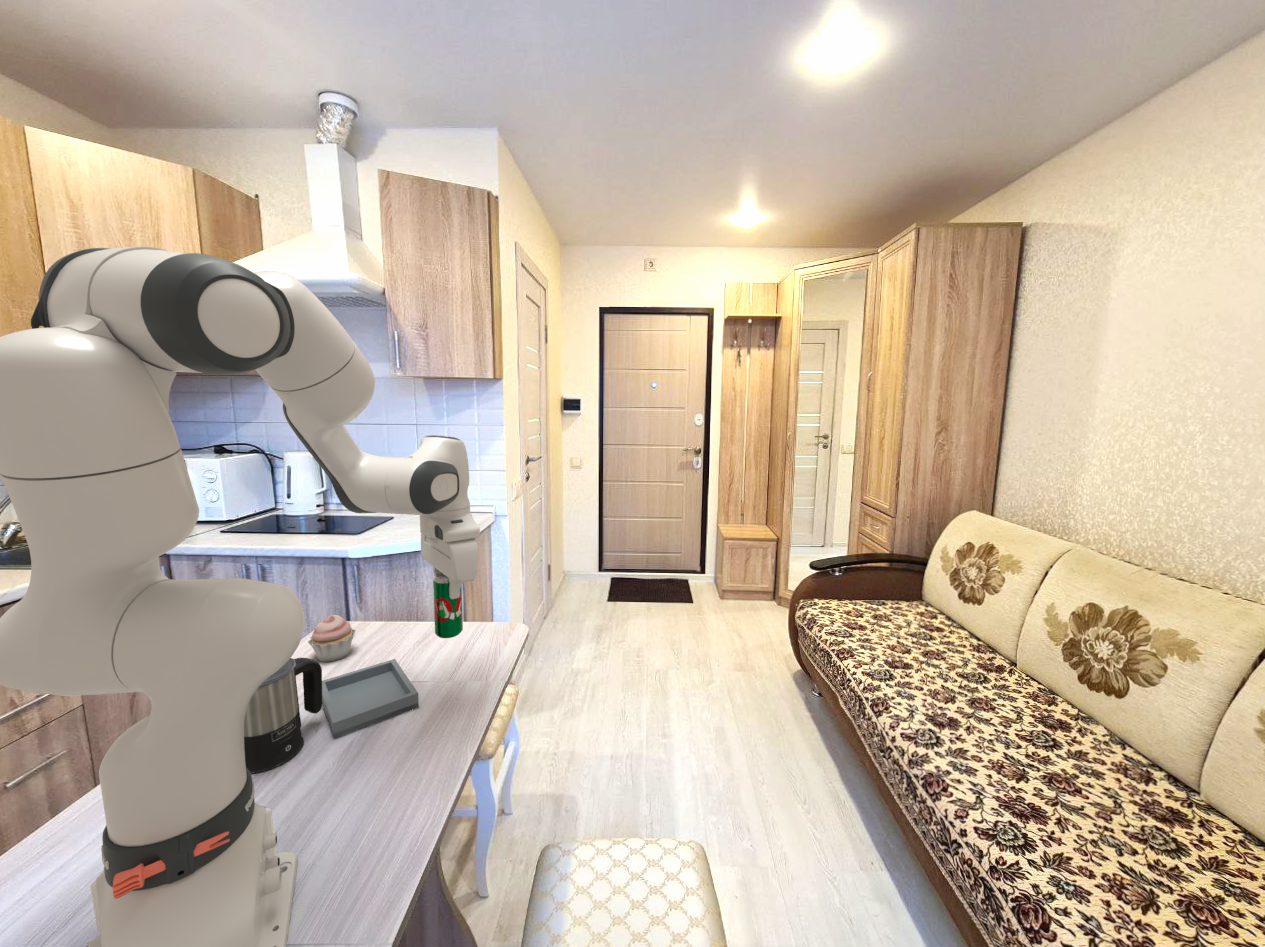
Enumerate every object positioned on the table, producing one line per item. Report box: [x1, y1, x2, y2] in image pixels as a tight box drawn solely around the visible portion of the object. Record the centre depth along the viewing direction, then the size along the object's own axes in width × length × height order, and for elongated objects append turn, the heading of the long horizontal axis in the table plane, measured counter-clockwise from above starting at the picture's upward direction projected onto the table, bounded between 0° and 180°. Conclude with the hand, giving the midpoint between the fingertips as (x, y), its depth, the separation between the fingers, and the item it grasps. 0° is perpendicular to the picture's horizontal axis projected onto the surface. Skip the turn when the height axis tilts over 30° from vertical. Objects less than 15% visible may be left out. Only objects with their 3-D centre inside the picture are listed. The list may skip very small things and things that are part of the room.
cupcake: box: [307, 614, 357, 663], centre depth 109 cm, size 9×9×10 cm
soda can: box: [432, 572, 464, 639], centre depth 92 cm, size 5×5×12 cm
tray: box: [322, 658, 420, 740], centre depth 93 cm, size 16×14×3 cm
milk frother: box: [244, 657, 323, 774], centre depth 80 cm, size 14×16×15 cm
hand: (447, 592), depth 91 cm, fingers closed on soda can, 5 cm apart
